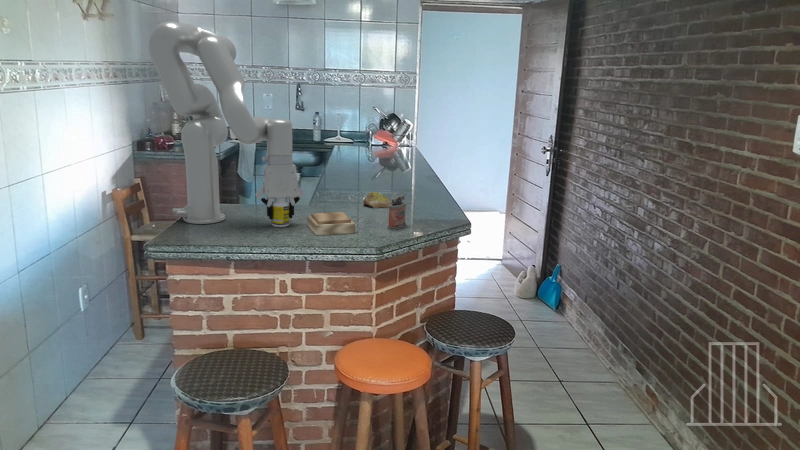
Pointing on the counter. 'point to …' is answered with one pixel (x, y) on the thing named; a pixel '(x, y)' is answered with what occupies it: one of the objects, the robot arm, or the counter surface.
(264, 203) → the robot arm
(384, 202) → the rock
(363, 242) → the counter surface
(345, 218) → the plinth
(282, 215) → the supplement bottle
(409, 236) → the counter surface
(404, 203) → the lighter
